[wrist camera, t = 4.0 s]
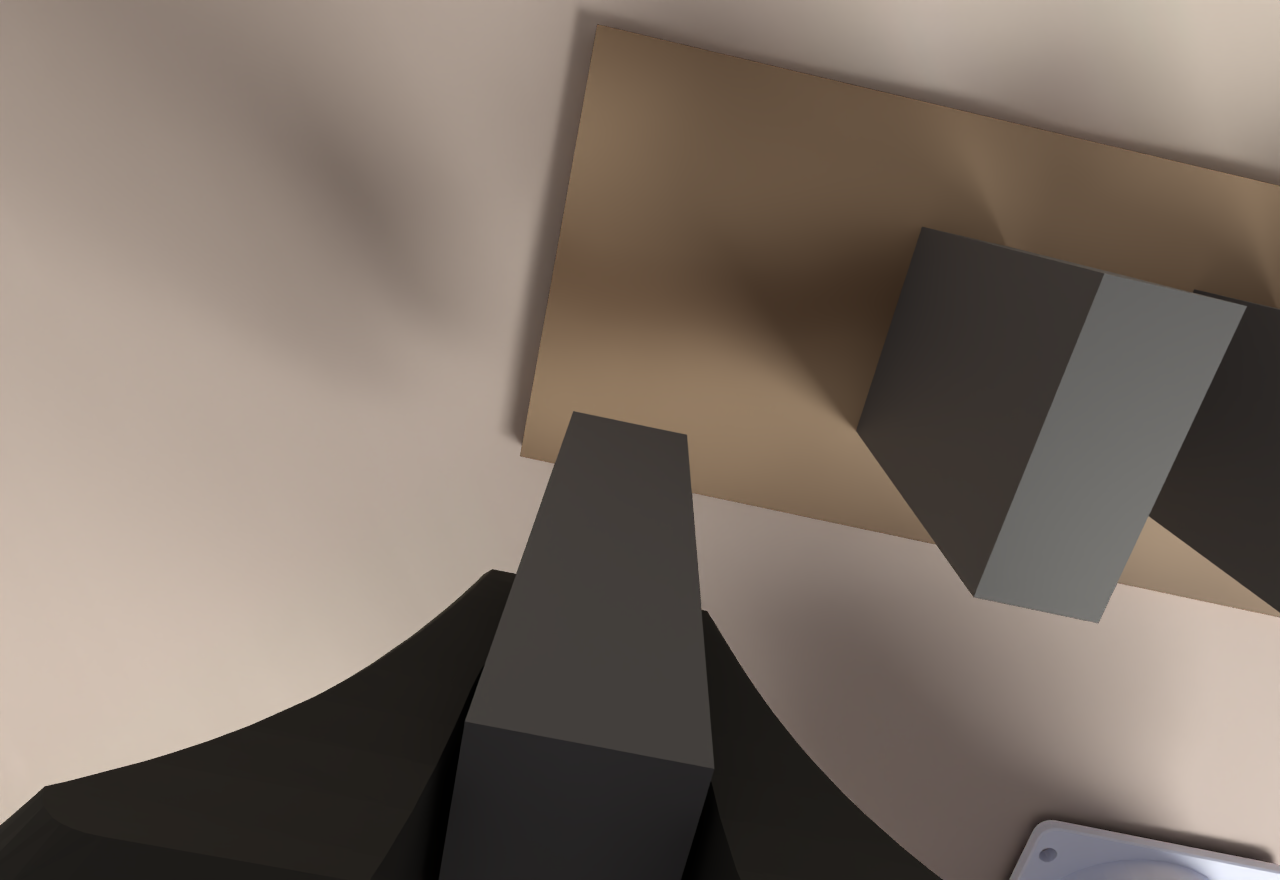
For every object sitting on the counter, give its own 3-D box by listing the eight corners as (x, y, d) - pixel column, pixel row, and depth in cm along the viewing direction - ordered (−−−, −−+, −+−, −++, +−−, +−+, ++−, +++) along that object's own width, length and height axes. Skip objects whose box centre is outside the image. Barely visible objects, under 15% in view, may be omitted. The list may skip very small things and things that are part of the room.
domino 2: (1006, 245, 18) (1246, 306, 11) (933, 448, 20) (1098, 623, 12) (922, 226, 18) (1105, 273, 11) (855, 431, 20) (974, 597, 12)
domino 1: (686, 434, 14) (714, 768, 6) (629, 673, 16) (596, 1160, 8) (573, 410, 14) (465, 720, 6) (527, 653, 16) (398, 1128, 8)
